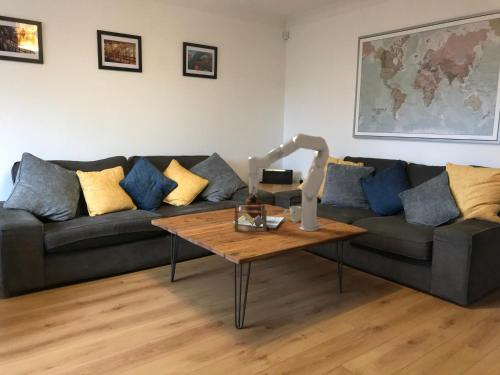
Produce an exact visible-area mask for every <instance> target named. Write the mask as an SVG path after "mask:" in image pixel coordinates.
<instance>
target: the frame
mask: <svg viewBox="0 0 500 375" xmlns="http://www.w3.org/2000/svg"><path fill="white" fill-rule="evenodd" d="M241 206H242V207H243V208H245V207H261V211H246V210H245V211H239V207H241ZM267 211H268V210H267V209H266V204H261V205H245V204H244V205H241V204H234V232H238V233H239V232H240V233H241V232H250V233H251V232H253V233H257V232H267V216H268V215H267V213H268V212H267ZM241 213H261V218H262V220H263V228H262V227H250V226H241V225H238V223H239V214H241Z"/></svg>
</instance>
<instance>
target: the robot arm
mask: <svg viewBox="0 0 500 375" xmlns="http://www.w3.org/2000/svg"><path fill="white" fill-rule="evenodd" d="M300 149H305V150H312V151H315V154H314V156H313V157H314V158H313V160H312V163H311V165H310V167H309V170H308V176H307V179H306V181H304V182H303V184H302V185H301V207H302V209H301V217H300V220H301V223H300V224H301V225H299V226H298V229H299V230H301V231H304V232H305V231H307V232H313V231H314V232H315V231H318V230H319V227H324V223H323V222H322V223H321V222H317V212H318V211H317V209H318V207H317V206H318V194H319V192H320V190H321V188H322V184H323V182H324V180H325V176H326V171H325V169H326V165H327V163H328V161H329V157H330V148H329V146H328V144H327V141H326V140H325V139H324V137H322V136H313V135H308V134H304V133H301V132H300V133H297V134H294V136H292V137H291V138H289V139H287V140H286V141H284V142H283V143H281V144H280V145H278V146H277V147H276V148H273V149H272V150H270V151H269V152H268V153H266V154H264V155H263V156H262V157H259V156H255V155H254V156H252V155H251V156H248V158H247V178H248V179H249V180H248V181H249V182H248V183H249V184H248V185H249V186H248V192H249V194H250V196H251V203H256V195H257V193H258V183H259V182H258V179H260V170H261V169H270V167H271V166H272V165H273V164H274V163H276V162H278V161H280V160H281V159H283V158H287V157H289V156H290V155H291V154H293V153H295V152H297V151H298V150H300Z"/></svg>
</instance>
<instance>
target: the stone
mask: <svg viewBox="0 0 500 375" xmlns="http://www.w3.org/2000/svg"><path fill="white" fill-rule="evenodd" d="M253 223H255V225H256V226H257V227H259V226H260V225H261V224H263V220H262V216H261V217H260V216H259V215H258V216H257V217H256V218H254V219H253Z"/></svg>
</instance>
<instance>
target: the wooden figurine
mask: <svg viewBox="0 0 500 375" xmlns="http://www.w3.org/2000/svg"><path fill="white" fill-rule="evenodd" d="M244 202H245V204H244V205H262V200H261V197H260V196H259V195H257V194H256V203H251V195H249V196H248V197H247V198H246V199H245V201H244ZM244 208H245V209H244V210H245V211H262V207H244ZM248 214H249V215H250V216H251V217H252V218H256V217H257V216H258V215H259V216H260V217H261V218H262V213H248Z"/></svg>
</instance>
